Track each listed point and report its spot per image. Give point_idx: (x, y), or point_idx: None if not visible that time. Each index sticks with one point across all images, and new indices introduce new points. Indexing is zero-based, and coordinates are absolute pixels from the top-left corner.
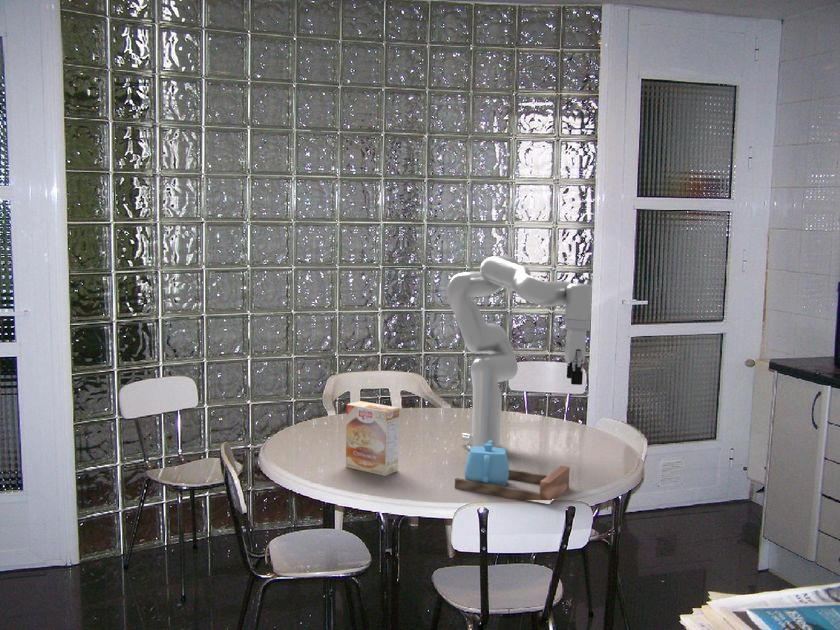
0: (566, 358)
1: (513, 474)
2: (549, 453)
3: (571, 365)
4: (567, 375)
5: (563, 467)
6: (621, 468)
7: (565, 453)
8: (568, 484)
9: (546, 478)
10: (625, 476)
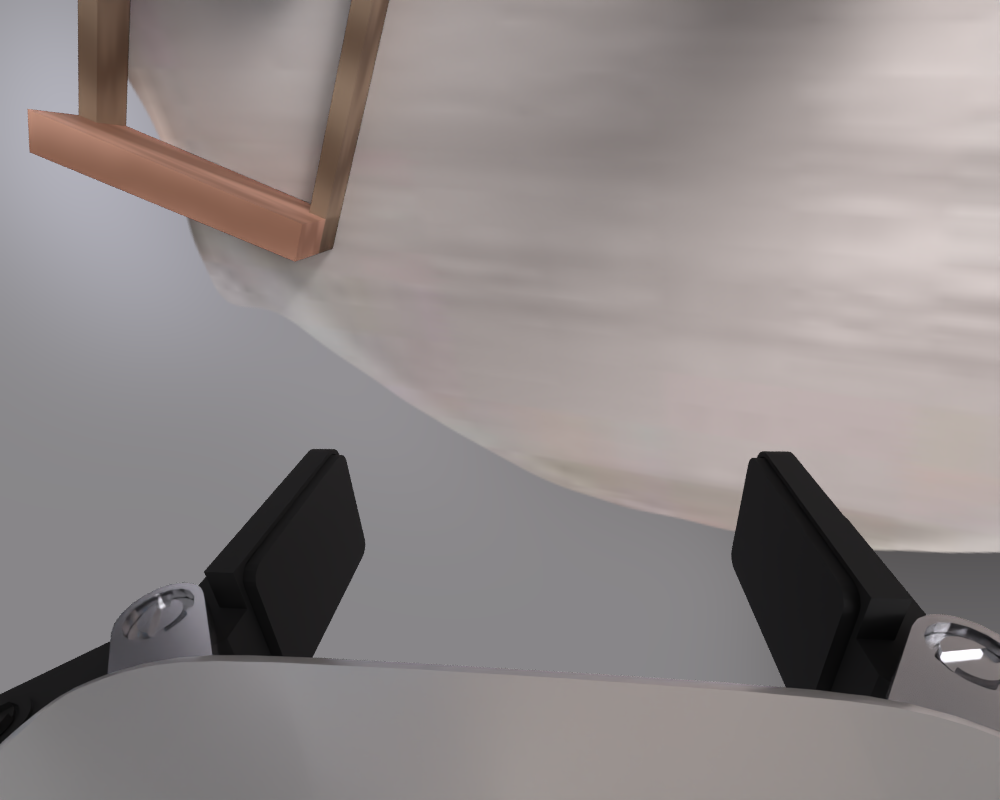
0: (367, 757)
1: None
2: (836, 200)
3: (849, 659)
4: (765, 474)
5: (277, 233)
6: (607, 461)
7: (830, 280)
8: (325, 249)
9: (83, 141)
10: (513, 456)
